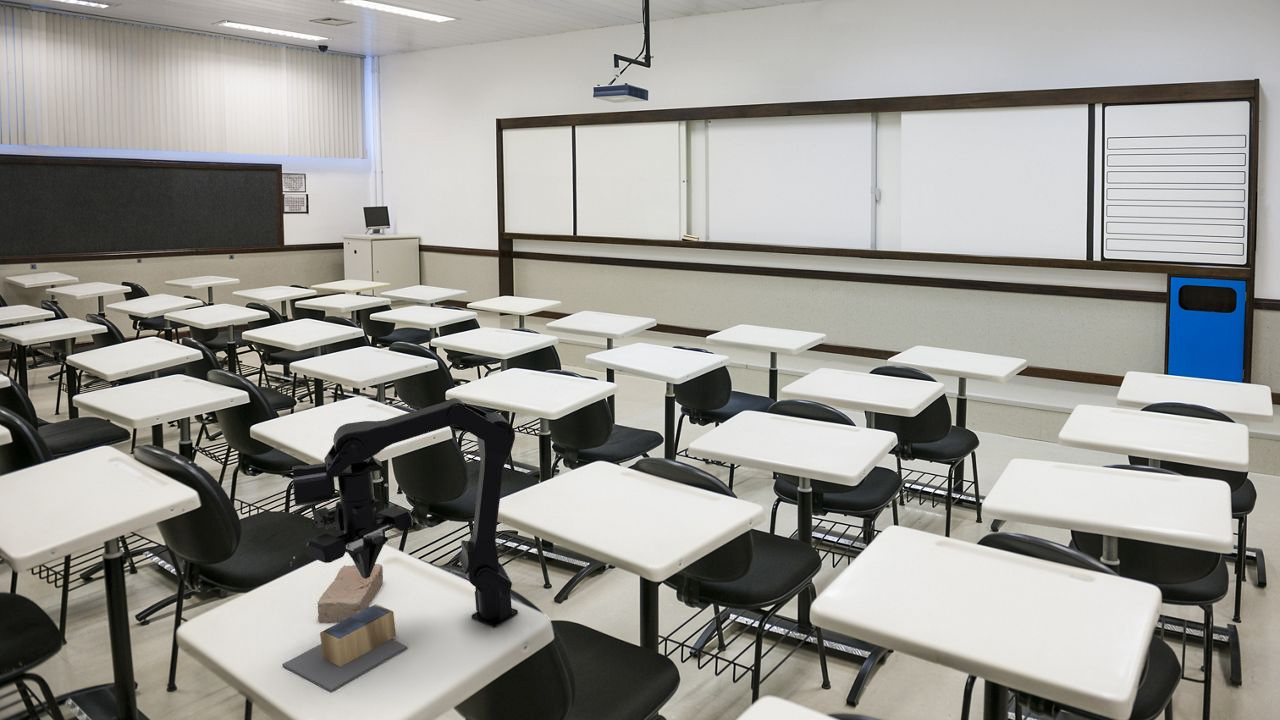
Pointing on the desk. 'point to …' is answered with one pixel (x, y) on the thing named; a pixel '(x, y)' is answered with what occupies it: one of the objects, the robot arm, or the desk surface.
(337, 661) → the oak block
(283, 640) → the desk surface
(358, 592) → the brick
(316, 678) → the mat
